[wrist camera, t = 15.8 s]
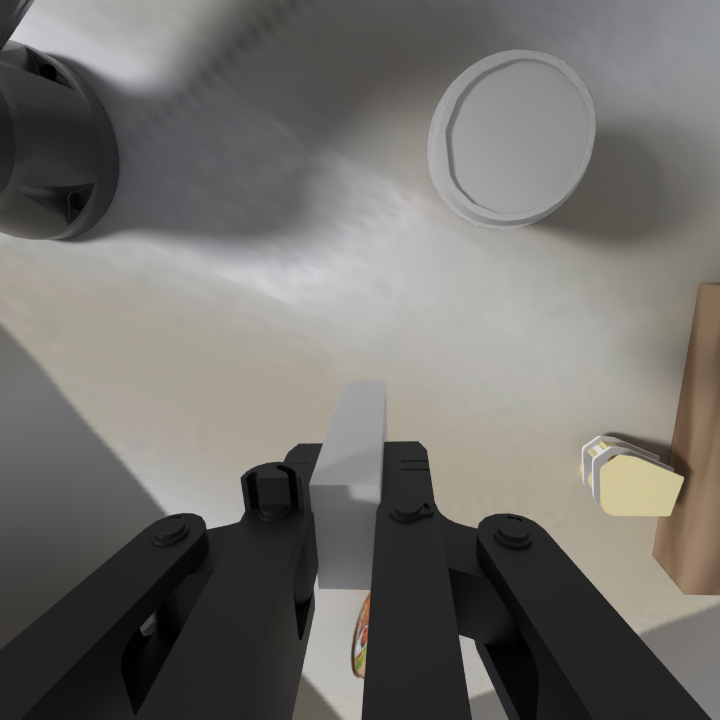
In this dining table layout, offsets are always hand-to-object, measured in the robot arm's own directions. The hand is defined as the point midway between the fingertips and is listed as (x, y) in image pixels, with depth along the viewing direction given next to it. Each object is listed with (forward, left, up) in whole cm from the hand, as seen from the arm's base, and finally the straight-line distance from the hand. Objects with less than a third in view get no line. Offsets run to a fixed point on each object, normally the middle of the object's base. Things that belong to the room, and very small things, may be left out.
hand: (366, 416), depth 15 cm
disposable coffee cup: (+8, +11, -25) cm, 28 cm away
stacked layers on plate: (+21, -16, -25) cm, 36 cm away
